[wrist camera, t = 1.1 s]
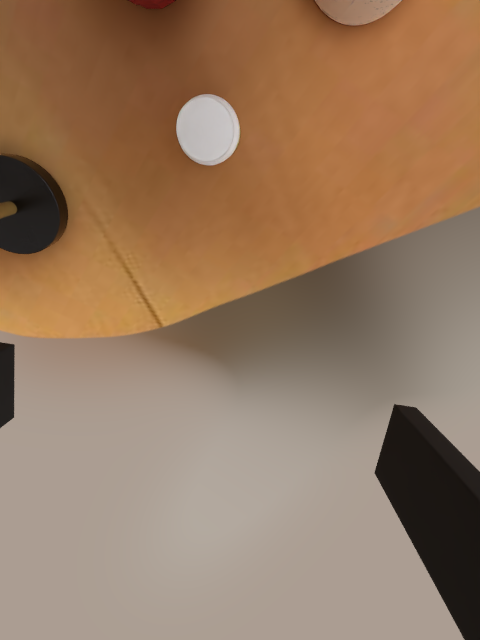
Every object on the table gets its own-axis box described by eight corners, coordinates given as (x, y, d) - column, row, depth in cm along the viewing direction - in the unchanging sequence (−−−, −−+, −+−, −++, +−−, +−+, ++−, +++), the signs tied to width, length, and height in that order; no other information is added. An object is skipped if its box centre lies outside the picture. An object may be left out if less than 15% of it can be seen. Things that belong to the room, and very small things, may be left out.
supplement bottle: (231, 93, 30) (228, 78, 22) (247, 151, 32) (248, 155, 24) (179, 112, 30) (159, 103, 23) (198, 168, 33) (185, 176, 25)
